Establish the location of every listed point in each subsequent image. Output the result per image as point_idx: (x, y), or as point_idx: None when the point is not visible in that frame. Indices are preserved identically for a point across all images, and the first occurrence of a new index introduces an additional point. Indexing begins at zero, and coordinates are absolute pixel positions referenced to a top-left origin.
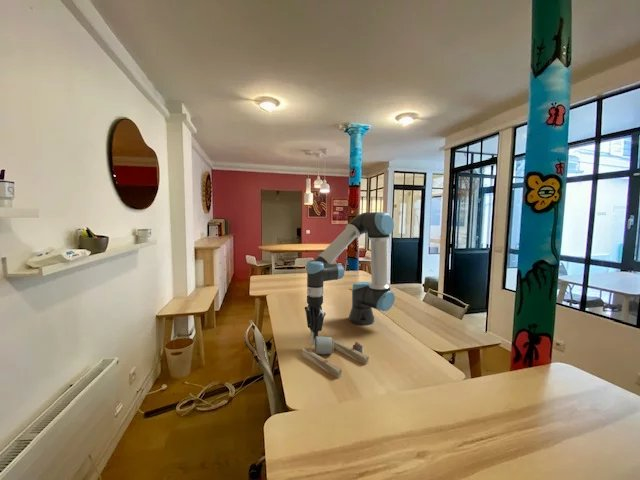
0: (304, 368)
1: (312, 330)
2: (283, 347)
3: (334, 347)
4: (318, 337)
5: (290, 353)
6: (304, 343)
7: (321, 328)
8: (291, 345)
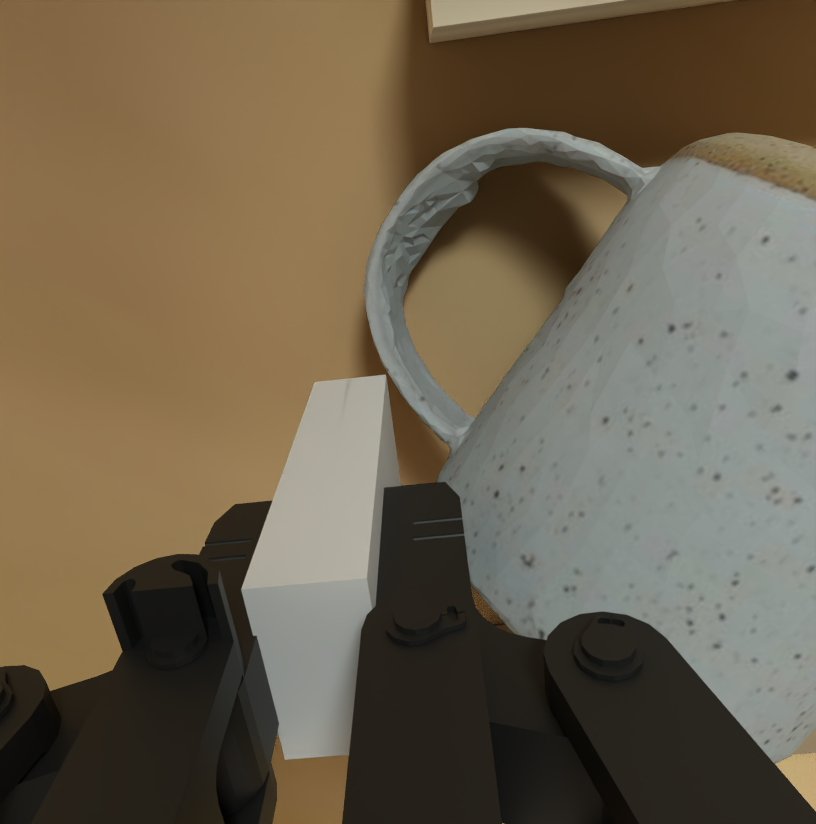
0: (803, 792)
1: (278, 726)
2: None
3: (657, 8)
4: (744, 713)
5: (328, 763)
6: (81, 449)
7: (733, 737)
8: (73, 655)
